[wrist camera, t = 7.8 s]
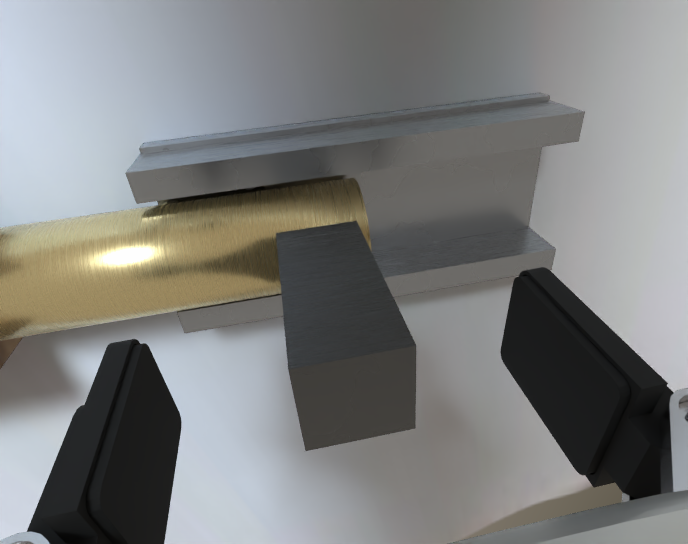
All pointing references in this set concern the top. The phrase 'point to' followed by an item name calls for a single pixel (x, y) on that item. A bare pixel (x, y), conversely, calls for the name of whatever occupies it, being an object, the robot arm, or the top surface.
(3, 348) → the socket
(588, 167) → the top surface
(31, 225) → the bolt
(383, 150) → the channel
